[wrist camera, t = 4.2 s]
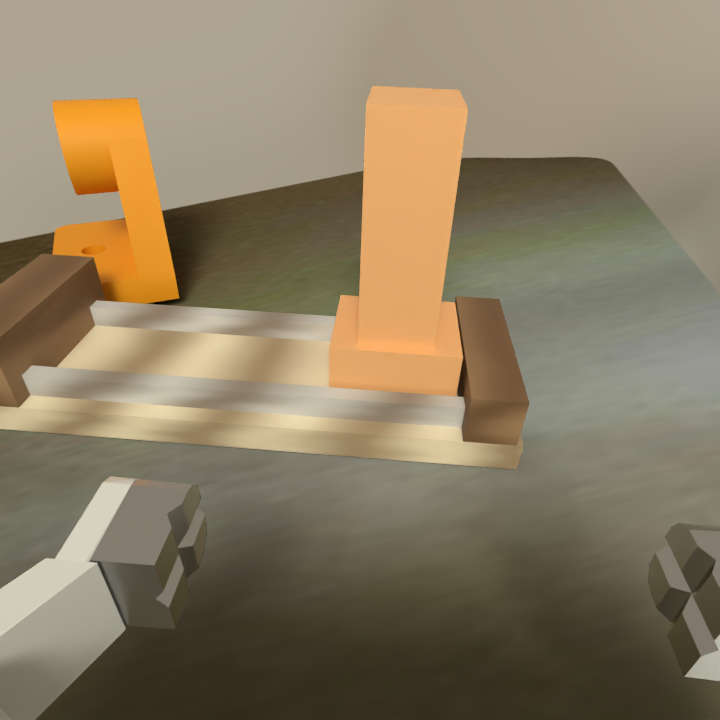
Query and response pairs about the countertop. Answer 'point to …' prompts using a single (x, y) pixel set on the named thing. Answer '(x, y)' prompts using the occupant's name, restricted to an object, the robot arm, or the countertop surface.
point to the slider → (404, 249)
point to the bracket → (137, 192)
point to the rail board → (237, 377)
